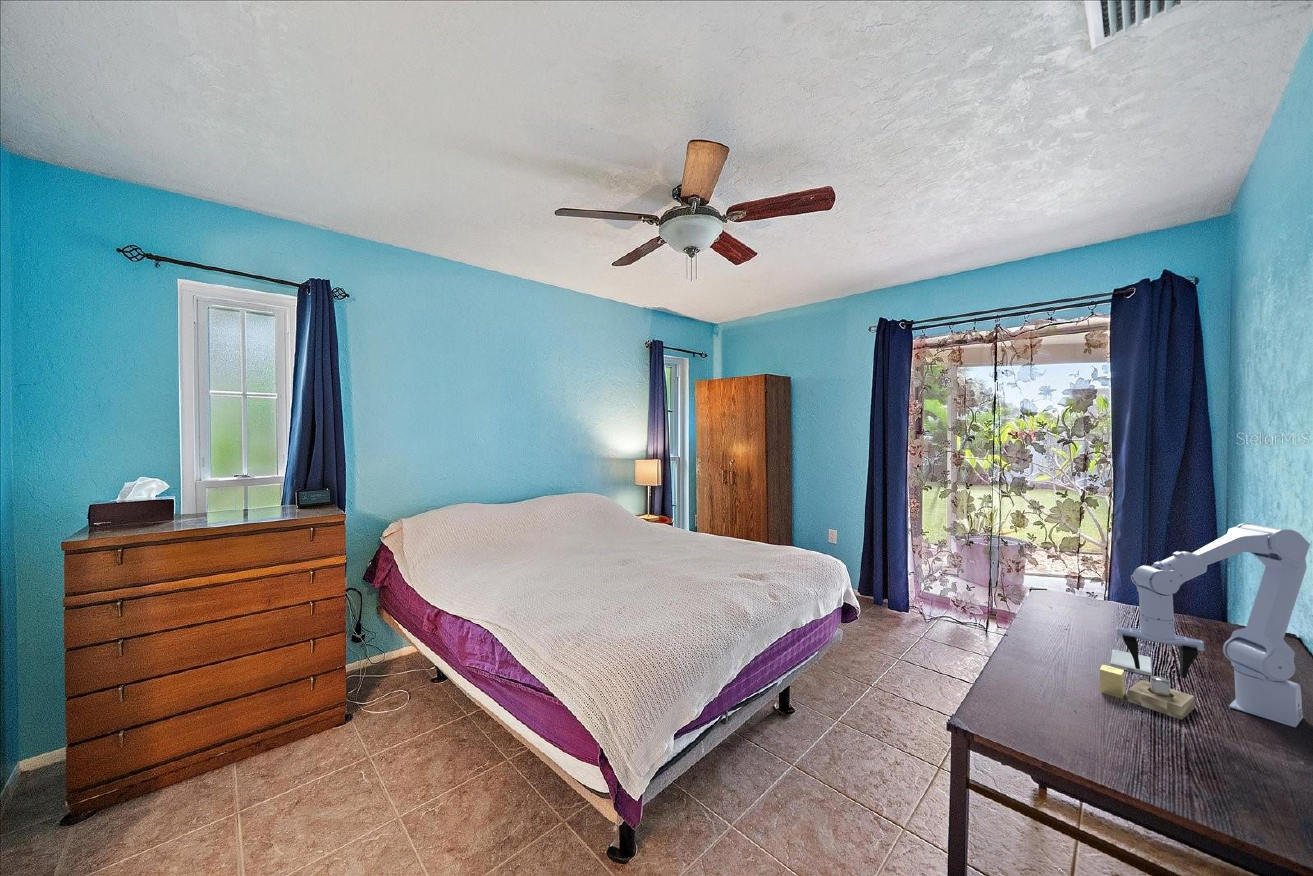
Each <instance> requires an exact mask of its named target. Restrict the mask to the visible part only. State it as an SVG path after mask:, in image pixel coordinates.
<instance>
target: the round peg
mask: <svg viewBox="0 0 1313 876" xmlns="http://www.w3.org/2000/svg"><path fill="white" fill-rule="evenodd" d="M1149 677H1150V681H1149V682H1151V693H1152V694H1155V695H1158V696H1161V697H1169V698H1170V689H1171V683H1170V682H1171V681H1170V680H1168V679H1167V678H1165V677H1162V676H1157V675H1152V676H1149Z"/></svg>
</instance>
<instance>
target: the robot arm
mask: <svg viewBox="0 0 1313 876" xmlns="http://www.w3.org/2000/svg"><path fill="white" fill-rule="evenodd" d="M1310 546H1311V544H1310V543H1309V541H1308V540H1307V539H1306V538H1305V537H1304V536H1303V535H1302V534H1301V533H1299V532H1298V531H1296V530H1293V529H1287V528H1280V527H1279V528H1278V527H1273V526H1266V525H1259V524H1256V523H1251V522H1242V523H1239V524H1238V525H1236V526H1234V527H1231V528H1228V530H1227V533H1226V534H1224V535H1223V536H1221V537H1219V538H1217V539H1215V540H1214V541H1212V542H1209V543H1208V544H1205V545H1204V546H1202V547H1201V548H1198V549H1197V550H1195V551H1193V552H1189V551H1178V550H1177V551H1174V552H1172V555H1171V556H1169V557H1167V558H1165V559H1163V560H1160V561H1156V562H1153V564H1152V565H1141V566H1139V567H1136V569H1135V570H1134V571H1133V573H1132V575H1130V579H1131V581H1132V583H1133V584H1134V585H1135V586H1136V591H1137V592H1138V604H1139V605H1138V606H1139V619H1140V621H1139V623H1140V628H1132V627H1121V626H1115V633H1116V636H1117V637H1118V638H1122V640H1123V642H1124V643H1125V646H1126V648H1127V649H1128V651H1129V653H1131V655H1132V657H1133V659H1134V663H1135V667H1136V669H1140V664H1139V658H1138V655H1139V644H1138V640H1139V641H1140V640H1141V641H1147V642H1152V643H1158V644H1164V645H1165V644H1166V645H1171V646H1177V647H1178V651H1179V652H1178V653H1179V674H1180V677H1181V679H1187V676H1188V672H1189V669H1190V667H1191V665H1192V664H1193V662H1194V661H1195V660H1196V659H1197V658H1198V656H1199V651H1200V652H1205V645H1204V641H1203V640H1202V639H1201V640H1200V639H1196V638H1192V637H1191V638H1190V637H1187V636H1182V635H1178V634H1176V633H1175V632H1176V630H1175V615H1174V596H1173V594H1176V593H1177V592H1178V591H1179V590H1180V588H1181V586H1182V585H1183V584H1184V583H1185V582H1188V581H1190V580H1192V579H1194V578H1196V577H1198V576H1201V575H1203V574H1205V573H1207V570H1208V565H1211V564H1214V563H1217V562H1219V561H1222V560H1225V559H1227V558H1231V557H1233V556H1235V555H1238V554H1241V553H1244V552H1245V553H1249V554H1251V555H1253V556H1254V557H1256V558H1257V559H1258V560H1259V561H1260V562H1261V563H1262V565H1264V571H1263V572H1262V577H1261V580H1260V583H1259V586H1258V587H1257V588H1258V590H1257V591H1256V595H1255V598H1254V601H1253V604H1252V608H1251V611H1250V613H1249V616H1248V620H1247V623H1246V626H1245V627H1244V628H1243V627H1242V628H1240V629H1236V630H1233V631H1232V633H1231V636H1230V638H1229V639H1227V640H1226V641H1225V642H1224V644H1223V646H1222V651H1223V655H1224V656H1225V657H1226V659H1228V660H1229V661H1230V662H1231V663H1230V664H1231V665H1230V666H1232V667H1233V671H1234V672H1233V673H1234V690H1235V691H1234V692H1235V693H1234V694H1235V699H1234V700H1233V701H1232V702H1231V703H1230V704H1229V708H1231V709H1235V710H1238V711H1241V712H1244V713H1248V714H1251V715H1254V716H1257V717H1261V718H1262V719H1263V718H1264V719H1267V720H1269V721H1273V722H1276V723H1280V724H1283V725H1286V726H1289V727H1292V728H1297V726H1299V724H1300V722H1301V721H1302V720H1303V718H1304V715H1303V713H1304V712H1303V701H1302V689H1301V685H1300V684H1299V683H1297V682H1294V681H1291V680H1289V679H1290V678H1292V677H1293V676H1294V675H1295V672H1296V665H1295V661H1294V659H1295V656H1296V652H1295V650H1293V649H1292V648H1291V646H1290V645H1289V644H1288V643H1287V642H1286V641H1285V639H1284V638H1285V636H1286V633H1287V629H1288V627H1289V623H1290V621H1291V617H1292V615H1293V612H1294V611H1293V610H1294V608H1295V605H1296V601H1297V599H1298V595H1299V593H1300V589H1301V587H1302V584H1303V580H1304V577H1305V576H1306V575H1305V574H1306V571H1307V561H1306V558H1307V555H1308V551H1309V549H1310Z"/></svg>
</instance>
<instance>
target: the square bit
mask: <svg viewBox="0 0 1313 876" xmlns="http://www.w3.org/2000/svg"><path fill="white" fill-rule="evenodd" d="M1099 679H1100V681H1099V682H1100V693H1102V694H1105V695H1108V696H1112V697H1114V696H1115V697H1114V698H1119V699H1122V700H1123V699H1124V697H1125V695H1126V684H1125V683H1126V682H1125V670H1123V669H1119V668H1114V667H1111V665H1106V664H1102V665H1101V666H1100V669H1099Z"/></svg>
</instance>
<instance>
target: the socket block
mask: <svg viewBox="0 0 1313 876" xmlns="http://www.w3.org/2000/svg"><path fill="white" fill-rule="evenodd" d="M1127 697H1128V702H1129V703H1132V704H1134V705H1138V706H1141V707H1143V708H1147V709H1149V710H1152V711H1155V712H1158V713H1161V714H1163V715H1167V716H1170V717H1172V718H1175V719H1178V720H1181V721H1182V720H1184V719H1185V718H1186V717H1188V715H1189V714H1190V713H1191V712H1192V711H1193V710H1195V696H1194V695H1192V694H1189V693H1186V692H1183V691H1179V690H1176V689H1173V688H1170V698H1169V697H1161V696H1158V695H1155V694H1152V693H1151V681H1147V680H1145V679H1140V680H1139V681H1138V682H1137V683H1135V684H1133V685H1132V686H1131V687H1129V688H1128V689H1127Z"/></svg>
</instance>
